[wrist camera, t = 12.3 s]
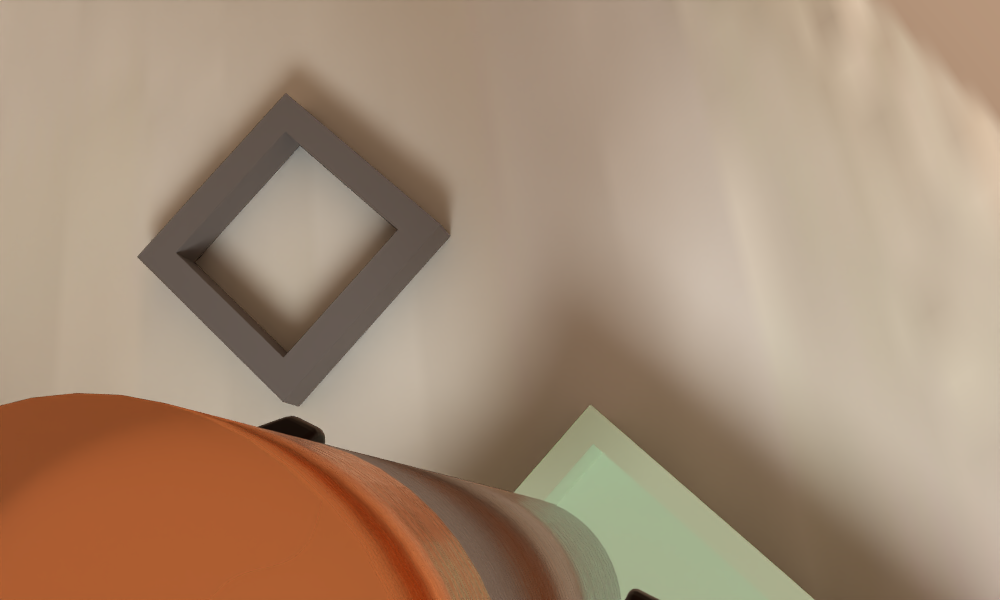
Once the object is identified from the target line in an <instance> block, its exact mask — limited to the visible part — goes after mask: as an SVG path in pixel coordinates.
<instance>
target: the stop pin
mask: <svg viewBox="0 0 1000 600" xmlns="http://www.w3.org/2000/svg"><path fill="white" fill-rule="evenodd" d="M0 600H621V594H620V588H619V583H618V579H617V575H616V572H615V570H614V567H613V564H612V562H611V560H610V558H609V556H608V554H607V552H606V550H605V548H604V547H603V545H602V544H601V542H600V541H599V539H598V538H597V537H596V536H595V534H594V533H593V532H592V531H591V530H590V529H589V528H588V527H587V526H586V525H585V524H584V523H583V522H582V521H581V520H579V519H578V518H577V517H576V516H574V515H573V514H571V513H570V512H568V511H567V510H565V509H563V508H561V507H559V506H557V505H555V504H552V503H549V502H546V501H543V500H540V499H537V498H533V497H529V496H525V495H521V494H517V493H513V492H509V491H505V490H501V489H497V488H494V487H490V486H486V485H482V484H478V483H474V482H470V481H466V480H462V479H458V478H455V477H451V476H447V475H443V474H439V473H435V472H431V471H427V470H423V469H419V468H416V467H412V466H408V465H404V464H400V463H396V462H392V461H388V460H384V459H380V458H377V457H373V456H369V455H365V454H361V453H357V452H353V451H349V450H345V449H341V448H338V447H334V446H330V445H326V444H322V443H318V442H314V441H310V440H306V439H302V438H298V437H295V436H291V435H287V434H283V433H279V432H275V431H271V430H267V429H263V428H259V427H256V426H252V425H248V424H244V423H240V422H236V421H232V420H228V419H224V418H220V417H217V416H213V415H209V414H205V413H201V412H197V411H193V410H189V409H185V408H181V407H178V406H174V405H170V404H166V403H161V402H156V401H150V400H145V399H140V398H134V397H129V396H124V395H110V394H84V393H73V394H64V395H54V396H45V397H35V398H29V399H25V400H21V401H17V402H13V403H9V404H5V405H1V406H0Z"/></svg>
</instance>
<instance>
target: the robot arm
mask: <svg viewBox="0 0 1000 600" xmlns="http://www.w3.org/2000/svg"><path fill="white" fill-rule="evenodd" d="M258 427H259V428H263V429H267V430H271V431H275V432H279V433H283V434H287V435H291V436H295V437H298V438H302V439H306V440H310V441H314V442H318V443H322V444H325V435H324V433H323V431H322V430H321V429H320V428H318V427H316V426H314V425H312V424H310V423H308V422H306V421H304V420H302V419H301V418H298V417H295V416H289V417H284V418H281V419H278V420H275V421H272V422H270V423H267V424H264V425H261V426H258ZM625 600H659V599H657V598H655V597H653V596H651V595H649V594H647V593H645V592H643V591H641V590H639V589H632V590H630V591H629V593H628V594H627V597H626V599H625Z"/></svg>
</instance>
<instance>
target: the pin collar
mask: <svg viewBox="0 0 1000 600" xmlns="http://www.w3.org/2000/svg"><path fill="white" fill-rule="evenodd" d="M299 146H301V147H302V148H303V149H305V150H306V151H307V152H308V153H309V154H310V155H311V156H313V157H314V158H315V159H316V160H317V161H318V162H320V163H321V164H322V165H323V166H324V167H325V168H326V169H328V170H329V171H330V172H331V173H332V174H333V175H335V176H336V177H337V178H338V179H339V180H340V181H341V182H343V183H344V184H345V185H346V186H347V187H348V188H350V189H351V190H352V191H353V192H354V193H355V194H356V195H358V196H359V197H360V198H361V199H362V200H363V201H364V202H366V203H367V204H368V205H369V206H370V207H371V208H373V209H374V210H375V211H376V212H377V213H378V214H379V215H381V216H382V217H383V218H384V219H385V220H386V221H388V222H389V223H390V224H391V225H392V226H393V227H394V228H396V229H397V231H396V232H395V233H394V235H393V236H392V237H391V238H390V239H389V240H388V241H387V242H386V244H385V245H384V246H383V247H382V248H381V249H380V250H379V251H378V252H377V254H376V255H375V256H374V257H373V258H372V259H371V260H370V261H369V263H368V264H367V265H366V266H365V267H364V268H363V269H362V270H361V272H360V273H359V274H358V275H357V276H356V277H355V278H354V279H353V280H352V282H351V283H350V284H349V285H348V286H347V287H346V288H345V289H344V291H343V292H342V293H341V294H340V295H339V296H338V297H337V298H336V299H335V301H334V302H333V303H332V304H331V305H330V306H329V307H328V308H327V310H326V311H325V312H324V313H323V314H322V315H321V316H320V317H319V319H318V320H317V321H316V322H315V323H314V324H313V325H312V326H311V327H310V329H309V330H308V331H307V332H306V333H305V334H304V335H303V336H302V338H301V339H300V340H299V341H298V342H297V343H296V344H295V345H294V347H293V348H292V349H291V350H290V351H289V352H288V353H287V352H286V351H285V350H284V349H283V348H282V347H281V346H280V345H279V344H278V343H277V342H276V341H275V340H274V339H273V338H272V337H271V336H270V335H269V334H268V333H266V332H265V331H264V330H263V329H262V328H261V327H260V326H259V325H258V324H257V323H256V322H255V321H254V320H253V319H252V318H251V317H250V316H249V315H248V314H247V313H246V312H245V311H244V310H243V309H242V308H241V307H240V306H239V305H238V304H237V303H236V302H234V301H233V300H232V299H231V298H230V297H229V296H228V295H227V294H226V293H225V292H224V291H223V290H222V289H221V288H220V287H219V286H218V285H217V284H216V283H215V282H214V281H213V280H212V279H211V278H210V277H209V276H208V275H207V274H206V273H205V272H204V271H203V270H201V269H200V268H199V267H198V266H197V265H196V264H195V263H194V262H195V261H196V260H197V259H198V258H199V257H200V255H201V254H202V253H203V252H204V251H205V250H206V249H207V248H208V247H209V246H210V244H211V243H212V242H213V241H214V240H215V239H216V238H217V237H218V236H219V234H220V233H221V232H222V231H223V230H224V229H225V228H226V227H227V226H228V225H229V223H230V222H231V221H232V220H233V219H234V218H235V217H236V216H237V215H238V213H239V212H240V211H241V210H242V209H243V208H244V207H245V206H246V205H247V203H248V202H249V201H250V200H251V199H252V198H253V197H254V196H255V195H256V194H257V192H258V191H259V190H260V189H261V188H262V187H263V186H264V185H265V184H266V182H267V181H268V180H269V179H270V178H271V177H272V176H273V175H274V174H275V172H276V171H277V170H278V169H279V168H280V167H281V166H282V165H283V164H284V163H285V161H286V160H287V159H288V158H289V157H290V156H291V155H292V154H293V153H294V151H295V150H296V149H297V148H298V147H299ZM449 237H450V235H449V234H448V233H447V232H446V230H445V229H444V228H443V227H442V226H441V224H439V223H438V222H437V221H436V220H435V219H433V218H432V217H431V216H430V215H429V214H428V213H426V212H425V211H424V210H423V209H422V208H421V207H419V206H418V205H417V204H416V203H415V202H413V201H412V200H411V199H410V198H409V197H408V196H406V195H405V194H404V193H403V192H402V191H400V190H399V189H398V188H397V187H396V186H395V185H393V184H392V183H391V182H390V181H389V180H388V179H386V178H385V177H384V176H383V175H382V174H380V173H379V172H378V171H377V170H376V169H375V168H373V167H372V166H371V165H370V164H369V163H368V162H366V161H365V160H364V159H363V158H362V157H360V156H359V155H358V154H357V153H356V152H355V151H353V150H352V149H351V148H350V147H349V146H347V145H346V144H345V143H344V142H343V141H342V140H340V139H339V138H338V137H337V136H336V135H335V134H333V133H332V132H331V131H330V130H329V129H327V128H326V127H325V126H324V125H323V124H322V123H320V122H319V121H318V120H317V119H316V118H315V117H313V116H312V115H311V114H310V113H309V112H307V111H306V110H305V109H304V108H303V107H302V106H300V105H299V104H298V103H297V102H296V101H294V100H293V99H292V98H291V97H290V96H289V95H287V94H286V93H285V94H284V96H283V97H282V98H281V99H280V100H279V101H278V102H277V103H276V104H275V105H274V107H273V108H272V109H271V110H270V111H269V112H268V113H267V114H266V115H265V116H264V118H263V119H262V120H261V121H260V122H259V123H258V124H257V125H256V126H255V128H254V129H253V130H252V131H251V132H250V133H249V134H248V135H247V136H246V137H245V139H244V140H243V141H242V142H241V143H240V144H239V145H238V146H237V147H236V148H235V150H234V151H233V152H232V153H231V154H230V155H229V156H228V157H227V158H226V159H225V161H224V162H223V163H222V164H221V165H220V166H219V167H218V168H217V169H216V170H215V172H214V173H213V174H212V175H211V176H210V177H209V178H208V179H207V180H206V182H205V183H204V184H203V185H202V186H201V187H200V188H199V189H198V190H197V191H196V193H195V194H194V195H193V196H192V197H191V198H190V199H189V200H188V201H187V202H186V204H185V205H184V206H183V207H182V208H181V209H180V210H179V211H178V212H177V213H176V215H175V216H174V217H173V218H172V219H171V220H170V221H169V222H168V223H167V224H166V226H165V227H164V228H163V229H162V230H161V231H160V232H159V233H158V234H157V236H156V237H155V238H154V239H153V240H152V241H151V242H150V243H149V244H148V245H147V247H146V248H145V249H144V250H143V251H142V252H141V253H140V254H139V255H138V256H137V257H138V258H139V259H140V260H141V261H142V262H143V263H144V264H145V265H146V266H147V267H148V268H149V269H150V270H151V271H152V272H153V273H154V274H155V275H156V276H157V277H158V278H159V279H160V280H161V281H162V282H163V283H164V284H165V285H166V286H167V287H168V288H169V289H170V290H171V291H172V292H173V293H174V294H175V295H176V296H177V297H178V298H179V299H180V300H181V301H182V302H183V303H184V304H185V305H186V306H187V307H188V308H189V309H190V310H191V311H192V312H193V313H194V314H195V315H196V316H197V317H198V318H199V319H200V320H201V321H202V322H203V323H204V324H205V325H206V326H207V327H208V328H209V329H210V330H211V331H212V332H213V333H214V334H215V335H216V336H217V337H218V338H219V339H220V340H221V341H222V342H223V343H224V344H225V345H226V346H227V347H228V348H229V349H230V350H231V351H232V352H233V353H234V354H235V355H236V356H237V357H238V358H239V359H240V360H242V361H243V362H244V363H245V364H246V365H247V366H248V367H249V368H250V369H251V370H252V371H253V372H254V373H255V374H256V375H257V376H258V377H259V378H260V379H261V380H262V381H263V382H264V383H265V384H266V385H267V386H268V387H269V388H270V389H271V390H272V391H273V392H274V393H275V394H276V395H277V396H278V397H279V398H280V399H281V400H282V401H283V402H285V403H289V404H292V405H296V406H300V404H301V403H302V402H303V401H304V400H305V399H306V398H307V397H308V395H309V394H310V393H311V392H312V391H313V390H314V389H315V388H316V386H317V385H318V384H319V383H320V382H321V381H322V380H323V379H324V377H325V376H326V375H327V374H328V373H329V372H330V371H331V370H332V368H333V367H334V366H335V365H336V364H337V363H338V362H339V361H340V359H341V358H342V357H343V356H344V355H345V354H346V353H347V352H348V350H349V349H350V348H351V347H352V346H353V345H354V344H355V343H356V341H357V340H358V339H359V338H360V337H361V336H362V335H363V334H364V332H365V331H366V330H367V329H368V328H369V327H370V326H371V325H372V323H373V322H374V321H375V320H376V319H377V318H378V317H379V316H380V314H381V313H382V312H383V311H384V310H385V309H386V308H387V307H388V305H389V304H390V303H391V302H392V301H393V300H394V299H395V298H396V296H397V295H398V294H399V293H400V292H401V291H402V290H403V289H404V287H405V286H406V285H407V284H408V283H409V282H410V281H411V280H412V278H413V277H414V276H415V275H416V274H417V273H418V272H419V271H420V270H421V268H422V267H423V266H424V265H425V264H426V263H427V262H428V261H429V259H430V258H431V257H432V256H433V255H434V254H435V253H436V252H437V250H438V249H439V248H440V247H441V246H442V245H443V244H444V243H445V241H446V240H447V239H448V238H449Z"/></svg>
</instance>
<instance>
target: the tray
mask: <svg viewBox="0 0 1000 600" xmlns="http://www.w3.org/2000/svg"><path fill="white" fill-rule="evenodd" d="M514 493H517V494H521V495H525V496H529V497H533V498H537V499H540V500H543V501H546V502H549V503H552V504H555V505H557V506H559V507H561V508H563V509H565V510H567V511H568V512H570V513H571V514H573V515H574V516H576V517H577V518H578V519H579V520H581V521H582V522H583V523H584V524H585V525H586V526H587V527H588V528H589V529H590V530H591V531H592V532H593V533H594V534H595V536H596V537H597V538H598V539H599V541H600V542H601V544H602V545H603V547H604V548H605V550H606V552H607V554H608V556H609V558H610V560H611V562H612V564H613V567H614V570H615V572H616V575H617V579H618V583H619V588H620V594H621V600H625V599H626V597H627V594H628V593H629V591H630V590H632V589H639V590H641V591H643V592H645V593H647V594H649V595H651V596H653V597H655V598H657V599H659V600H815V599H813V598H812V597H811V596H810V595H809V594H808V593H806V592H805V591H804V590H803V589H802V588H801V587H800V586H798V585H797V584H796V583H795V582H794V581H793V580H792V579H790V578H789V577H788V576H787V575H786V574H785V573H784V572H782V571H781V570H780V569H779V568H778V567H777V566H775V565H774V564H773V563H772V562H771V561H770V560H769V559H767V558H766V557H765V556H764V555H763V554H762V553H761V552H759V551H758V550H757V549H756V548H755V547H754V546H753V545H751V544H750V543H749V542H748V541H747V540H746V539H744V538H743V537H742V536H741V535H740V534H739V533H738V532H736V531H735V530H734V529H733V528H732V527H731V526H730V525H728V524H727V523H726V522H725V521H724V520H723V519H721V518H720V517H719V516H718V515H717V514H716V513H715V512H713V511H712V510H711V509H710V508H709V507H708V506H707V505H705V504H704V503H703V502H702V501H701V500H700V499H699V498H697V497H696V496H695V495H694V494H693V493H692V492H690V491H689V490H688V489H687V488H686V487H685V486H684V485H682V484H681V483H680V482H679V481H678V480H677V479H676V478H674V477H673V476H672V475H671V474H670V473H669V472H667V471H666V470H665V469H664V468H663V467H662V466H661V465H659V464H658V463H657V462H656V461H655V460H654V459H653V458H651V457H650V456H649V455H648V454H647V453H646V452H645V451H643V450H642V449H641V448H640V447H639V446H638V445H636V444H635V443H634V442H633V441H632V440H631V439H630V438H628V437H627V436H626V435H625V434H624V433H623V432H622V431H620V430H619V429H618V428H617V427H616V426H615V425H614V424H612V423H611V422H610V421H609V420H608V419H607V418H605V417H604V416H603V415H602V414H601V413H600V412H599V411H597V410H596V409H595V408H594V407H593V406H592V405H591V404H590V405H589V407H588V408H587V409H586V410H585V411H584V412H583V413H582V415H581V416H580V417H579V418H578V419H577V420H576V421H575V423H574V424H573V425H572V426H571V427H570V428H569V429H568V431H567V432H566V433H565V434H564V435H563V436H562V437H561V439H560V440H559V441H558V442H557V443H556V444H555V446H554V447H553V448H552V449H551V450H550V451H549V452H548V454H547V455H546V456H545V457H544V458H543V459H542V460H541V462H540V463H539V464H538V465H537V466H536V467H535V468H534V470H533V471H532V472H531V473H530V474H529V475H528V477H527V478H526V479H525V480H524V481H523V482H522V483H521V485H520V486H519V487H518V488H517V489H516V490H515V491H514Z"/></svg>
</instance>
